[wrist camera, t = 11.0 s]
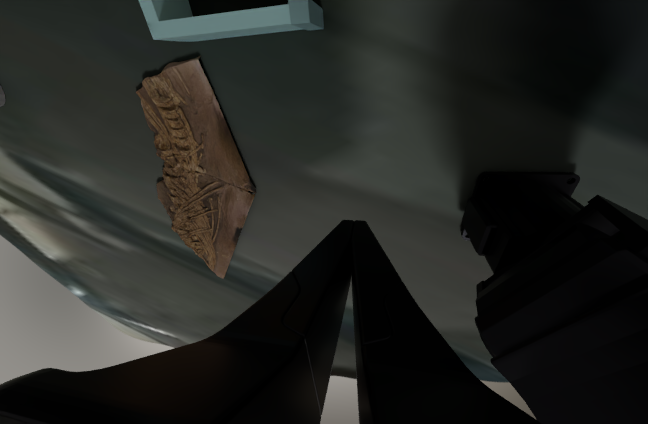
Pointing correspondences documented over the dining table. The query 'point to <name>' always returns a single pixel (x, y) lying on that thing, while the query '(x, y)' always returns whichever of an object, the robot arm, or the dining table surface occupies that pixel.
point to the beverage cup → (2, 97)
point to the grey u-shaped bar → (227, 20)
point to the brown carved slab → (197, 162)
